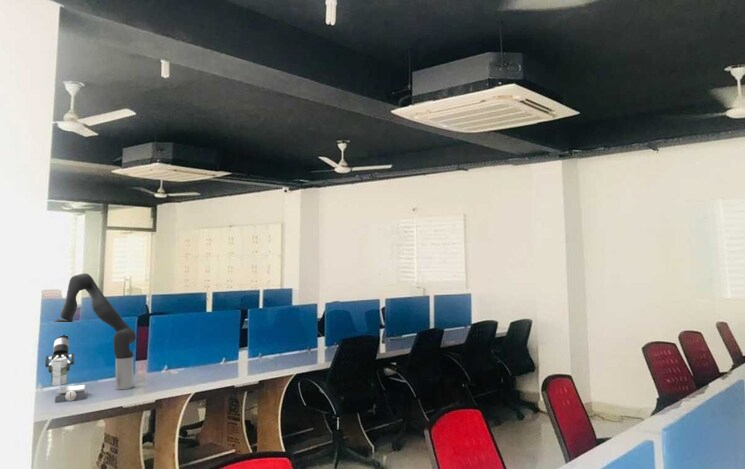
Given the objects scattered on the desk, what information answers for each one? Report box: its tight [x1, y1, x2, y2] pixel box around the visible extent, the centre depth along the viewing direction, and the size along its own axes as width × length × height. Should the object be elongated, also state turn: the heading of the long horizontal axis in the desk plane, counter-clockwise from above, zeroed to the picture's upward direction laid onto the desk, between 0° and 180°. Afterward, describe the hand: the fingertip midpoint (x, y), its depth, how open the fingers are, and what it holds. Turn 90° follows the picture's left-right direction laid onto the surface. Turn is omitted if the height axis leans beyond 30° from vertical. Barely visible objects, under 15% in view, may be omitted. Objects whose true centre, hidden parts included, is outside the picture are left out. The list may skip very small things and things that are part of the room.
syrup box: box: [50, 358, 68, 387], centre depth 300 cm, size 6×6×14 cm
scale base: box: [54, 387, 88, 403], centre depth 287 cm, size 15×14×5 cm
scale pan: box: [57, 384, 86, 393], centre depth 287 cm, size 12×12×1 cm
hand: (59, 371), depth 299 cm, fingers closed on syrup box, 8 cm apart
